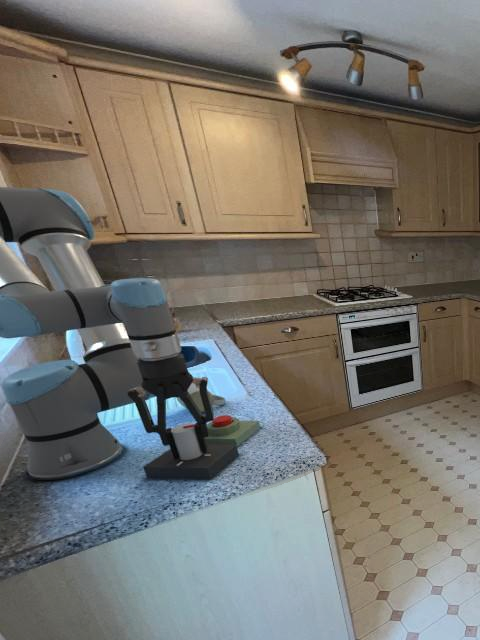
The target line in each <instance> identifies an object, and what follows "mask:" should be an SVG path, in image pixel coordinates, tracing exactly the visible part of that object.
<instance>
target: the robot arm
mask: <svg viewBox="0 0 480 640" xmlns="http://www.w3.org/2000/svg"><path fill="white" fill-rule="evenodd" d="M94 238H95V230H94V227H93V224H92V223H91V219H90V217H89V215H88V213H87V211H86V210H85V209H84V207H83V206H82V204H81V203H80V202H79V201H78V200H77V199H76V197H74V196H72V195H71V194H69V193H67V192H65V191H63V190H59V189H58V190H57V189H47V188H44V187H37V188H29V187H28V188H27V187H12V186H11V187H9V186H0V338H2V339H17V338H18V339H19V338H27V337H29V338H34V337H38V336H43V335H44V336H45V335H47V334H48V335H49V334H56V333H62V332H68V331H69V332H70V331H75V330H76V331H77V332H78V335H79V336H80V338H81V340H82V342H83V344H84V345H85V347H86V351H85V353H84V354H83V356H82V360H83V361H84V363H78V362H76V361H75V360H73V359H59V360H55V361H54V360H51V361H46V362H41V363H38V364H37V363H36V364H33V365H31V366H28V367H25V368H21V369H20V370H17V371H15V372H13V373H11V374H9V375H8V376H6V377H5V378H4V379H3V380H2V382H1V389H2V391H3V394H4V397H5V402H6V404H7V405H9V407H10V408H11V411H12V412H13V415H14V417H15V419H16V421H17V424H18V425H19V428H20V429H21V432H22V433H23V436H24V438H25V440H26V441H27V462H26V469H27V473H28V475H29V476H30V478H31V479H33V480H37V481H55V480H63V479H69V478H72V477H76V476H80V475H83V474H86V473H89V472H92V471H94V470H98V469H100V468H102V467H104V466H106V465H108V464H110V463H112V462H113V461H115V460H116V459H117V458H119V457H120V456H121V455H122V453H123V446H122V444H121V443H120V441H119V440H118V439H117V438H116V437H115V436H114V435H113V433H111V432H110V431H109V429H107V428H106V427H105V426H104V425H103V424H102V422H101V420H100V418H99V415H98V414H99V413H102V412H103V413H104V412H106V411H110V410H114V409H117V408H120V407H124V406H127V405H132V404H135V408H136V409H137V412H138V415H139V417H140V420H141V423H142V426H143V428H144V430H145V433H146V434H153V433H154V434H158V435H159V438H160V440H161V443H162V446H164V447H166V446H167V447H168V446H169V448H170V449H171V451H172V454H173V457H174V459H178V458H179V454H178V451H177V448H176V446H175V443H174V440H173V437H172V434H171V429H172V427H168V428H167V400H169V399H171V398H177V397H180V399H181V400H182V401H183V402H184V404H185V405H186V407H187V408H188V410H187V411H189V413H190V414H191V416H192V418H193V419H194V420H195V423H194V424H195V430H196V433H197V436H198V439H199V442H200V446H201V449H202V452H203V453H204V452H207V444H206V441H205V437H208V435H209V431H208V428H207V425H208V423H210V422H212V421H213V419H214V418H215V413H214V410H213V406H211V402H210V398H209V394H208V391H209V390H208V382H209V379H208V377H207V376H203V377H197V376H195V377H194V376H193V375H192V374H191V373H190V371H189V370H188V366H187V363H186V360H185V356H184V354H183V353H181V351H182V350H183V349H182V346H181V343H180V339H179V336H178V333H176V330H175V326H174V323H173V319H172V316H173V315H172V314H171V313H170V309H169V308H170V306H169V301H168V296H167V294H166V292H165V290H164V288H163V285H162V282H161V281H160V280H158V279H156V278H151V277H148V278H146V277H133V278H122V279H117V280H116V279H115V280H114V281H112V282H111V283H106V284H105V283H104V280H103V279H102V277H101V275H100V273H99V272H98V270H97V267H96V266H95V264H94V262H93V260H92V258H91V256H90V255H89V252H88V250H89V249H90V248H91V246H92V242H91V241H92V240H94ZM8 243H18V244H19V245H20V247H21V249H22V250H23V252H24V253H26V254H28V255H31V256H34V257H36V258H37V260H38V261H39V263H40V265H41V267H42V270H43V271H44V272H45V274H46V276H47V278H48V280H49V281H50V283H51V285H52V287H53V289H54V290H49V289H48V288H47V287H46V286H45V285H44V283H42V281H41V280H40V279H39V278H38V276H36V274H35V273H34V272H33V270H31V269H30V268H29V267H28V265H27V264H26V263H25V262H24V261H23V259H22V258H21V257H20V256H19V255H18V254H17V253H16V252H15V251H14V250H13V249H12V247H11V246H10V245H9V244H8ZM171 315H172V316H171ZM191 383H194V384H195V386H196V387H197V388H200V389H199V391H200V396H201V399H202V403H203V406H204V410H205V412H204V414H205V415H204V414H203V412H202V413H201V411H200V410H199V408H198V407H197V405H196V404H195V402H194V401H193V399H192V398H191V396H190V394H189V392H188V389H189V387H190V385H191ZM207 390H208V391H207ZM153 398H156V414H157V415H156V417H157V419H156V421H157V423H156V424H155V422H154V419H153V417H152V415H151V412H150V409H149V406H148V404H147V401H149V400H150V399H153Z"/></svg>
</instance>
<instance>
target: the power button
mask: <svg viewBox="0 0 480 640" xmlns="http://www.w3.org/2000/svg"><path fill="white" fill-rule="evenodd" d="M231 417H232V416H231V415H229V414H222V415H218V416H216V417H214V419H213V424H214V427H224V426H227V425H230V424H232V418H231Z"/></svg>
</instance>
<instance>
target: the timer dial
mask: <svg viewBox="0 0 480 640" xmlns="http://www.w3.org/2000/svg"><path fill="white" fill-rule="evenodd" d="M195 424H196V423H182V424H180V425H176V426H174V427H173V428H171V434H172V437H173V440H174V443H175V446H176V448H177V451H178V454H179V457H180V459H181V460H191V459H194V458H197V457H199V456H201V455H202V454H203V452H202V449H201V446H200V442H199V439H198V436H197V433H196V430H195Z"/></svg>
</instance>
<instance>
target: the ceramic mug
mask: <svg viewBox="0 0 480 640" xmlns="http://www.w3.org/2000/svg"><path fill="white" fill-rule="evenodd" d="M199 389H200V388H197V387H196V386H195V384H194V383H191V385H190V387H189V389H188V392H189V394H190V396H191V398H192V399H193V401H194V402H195V404H196V405H197V407H198V408H199V410H200V411H201V413H202V414H203V413H205V410H204V406H203V403H202V399H201V396H200V391H199ZM207 391H208V394H209V398H210V402H211V406H212V407H213V406H223V405H225V404H226V398H225V397H223V396H221V395H216V394H212V392H211V391H210V390H208V389H207ZM176 400H177V402H178V403H179V404H180V405H181V406H182V407H184V408H185V409H186V410H187V411H189V410H188V408H187V407H186V405H185V404H184V402H183V401H182V400H181V399H180V397H176Z"/></svg>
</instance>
